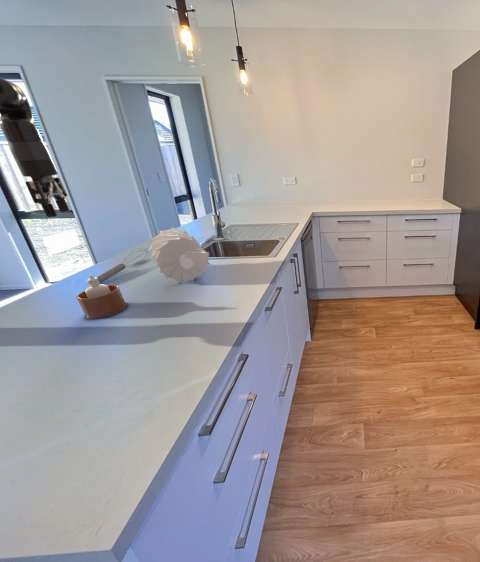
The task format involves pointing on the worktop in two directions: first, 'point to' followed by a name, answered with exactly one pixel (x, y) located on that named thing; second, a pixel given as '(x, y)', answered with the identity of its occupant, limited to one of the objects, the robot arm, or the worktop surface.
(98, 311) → the cup
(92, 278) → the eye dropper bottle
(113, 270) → the kitchen whisk
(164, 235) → the spiral staircase
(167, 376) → the worktop surface
